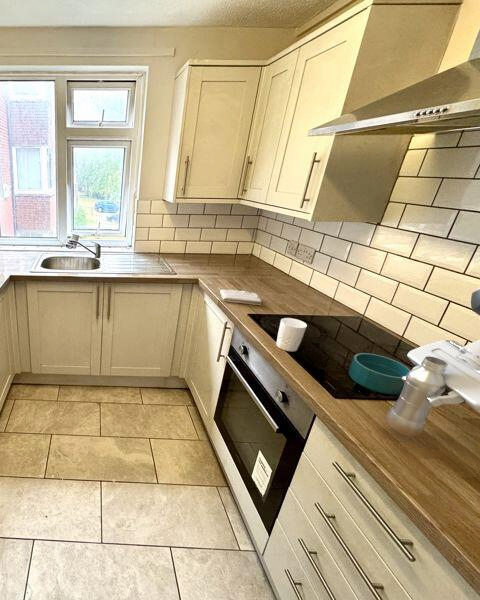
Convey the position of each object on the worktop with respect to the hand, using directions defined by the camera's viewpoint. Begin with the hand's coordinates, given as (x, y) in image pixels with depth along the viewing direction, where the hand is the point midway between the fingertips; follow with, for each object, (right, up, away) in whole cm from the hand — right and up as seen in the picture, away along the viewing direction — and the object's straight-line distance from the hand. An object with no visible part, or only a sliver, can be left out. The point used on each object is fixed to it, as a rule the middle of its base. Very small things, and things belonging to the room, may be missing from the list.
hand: (416, 392), depth 73 cm
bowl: (+14, -4, +25) cm, 28 cm away
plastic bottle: (+1, -11, +4) cm, 12 cm away
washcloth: (+3, +21, +86) cm, 88 cm away
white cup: (-1, +4, +44) cm, 44 cm away
